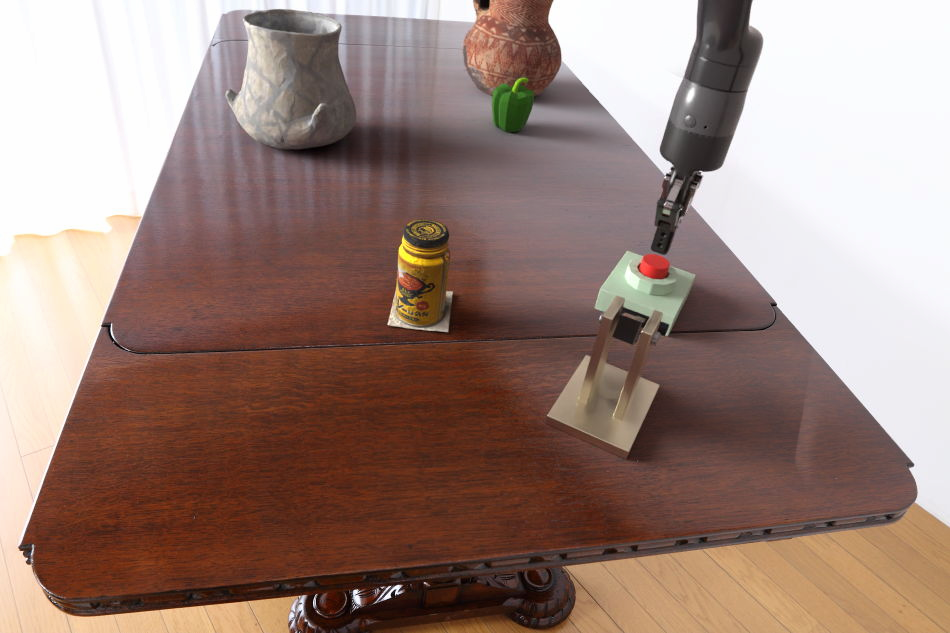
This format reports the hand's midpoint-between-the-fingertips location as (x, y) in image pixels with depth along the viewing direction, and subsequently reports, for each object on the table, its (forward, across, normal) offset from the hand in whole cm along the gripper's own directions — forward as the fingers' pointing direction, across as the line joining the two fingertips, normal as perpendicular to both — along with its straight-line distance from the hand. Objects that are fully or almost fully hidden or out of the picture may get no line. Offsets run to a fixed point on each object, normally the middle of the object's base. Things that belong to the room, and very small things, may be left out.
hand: (659, 250), depth 88 cm
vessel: (+8, +10, +68) cm, 69 cm away
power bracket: (+8, -23, -2) cm, 25 cm away
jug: (+8, +64, +51) cm, 83 cm away
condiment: (+8, -20, +23) cm, 32 cm away
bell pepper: (+8, +43, +41) cm, 60 cm away
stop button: (+3, 0, 0) cm, 3 cm away
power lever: (0, -20, -2) cm, 20 cm away
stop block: (+8, 0, 0) cm, 8 cm away
